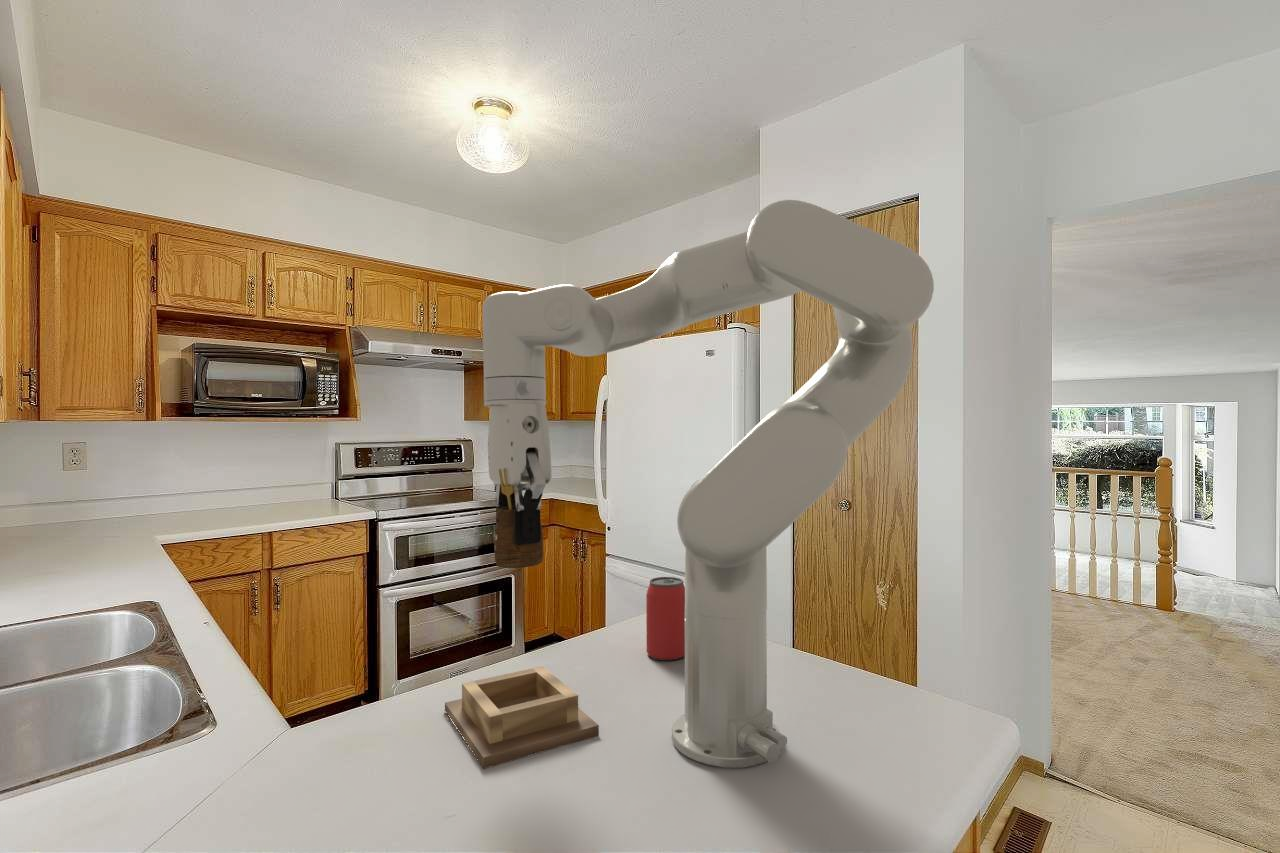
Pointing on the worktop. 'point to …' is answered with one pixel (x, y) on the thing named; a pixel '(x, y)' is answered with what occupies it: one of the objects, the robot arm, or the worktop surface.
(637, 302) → the robot arm
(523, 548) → the utensil holder
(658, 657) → the beer can
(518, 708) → the socket board
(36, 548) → the worktop surface
